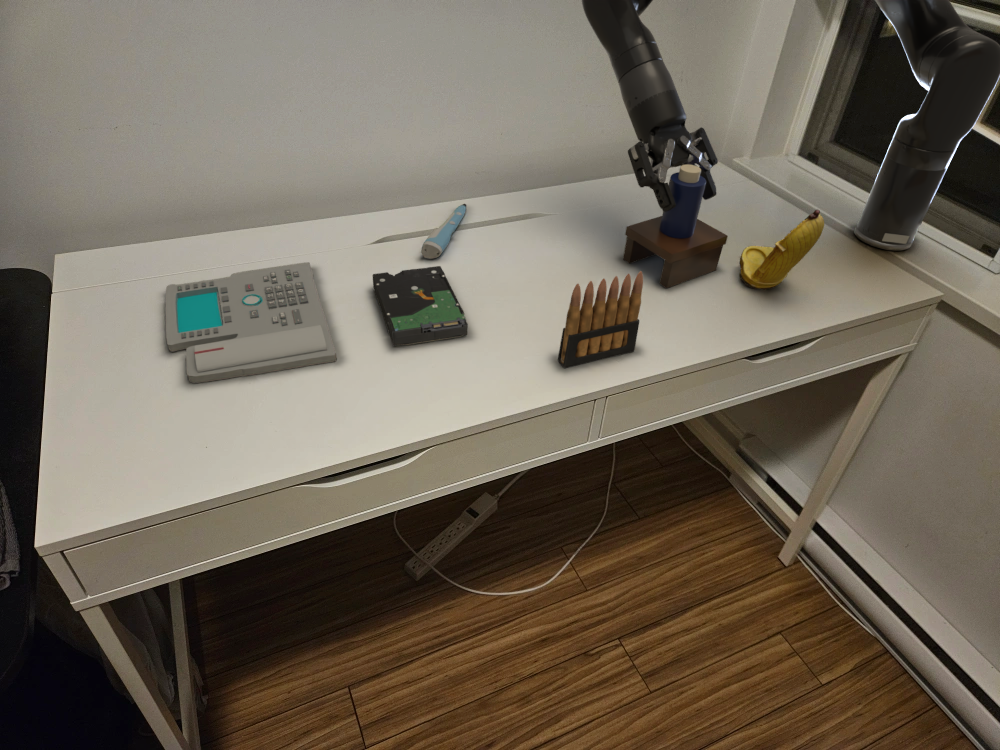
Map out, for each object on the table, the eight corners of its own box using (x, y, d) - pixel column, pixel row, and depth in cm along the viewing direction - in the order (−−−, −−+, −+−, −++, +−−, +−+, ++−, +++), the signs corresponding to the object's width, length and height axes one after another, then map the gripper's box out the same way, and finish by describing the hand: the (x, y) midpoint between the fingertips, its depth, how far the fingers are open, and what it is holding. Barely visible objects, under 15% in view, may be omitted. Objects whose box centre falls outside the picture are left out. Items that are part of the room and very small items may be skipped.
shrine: (811, 301, 104) (848, 209, 95) (766, 309, 102) (798, 215, 93) (766, 263, 113) (796, 175, 103) (723, 269, 110) (749, 180, 101)
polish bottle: (676, 220, 110) (690, 158, 103) (700, 233, 107) (716, 171, 100) (652, 227, 107) (665, 165, 101) (676, 241, 104) (691, 178, 98)
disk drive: (371, 290, 101) (393, 349, 90) (370, 273, 99) (392, 331, 89) (440, 280, 104) (469, 336, 93) (440, 264, 102) (469, 319, 92)
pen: (439, 262, 108) (439, 246, 106) (419, 259, 108) (419, 242, 107) (472, 209, 123) (473, 194, 121) (455, 206, 123) (455, 191, 121)
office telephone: (337, 345, 86) (163, 375, 80) (339, 361, 88) (169, 392, 82) (308, 253, 103) (162, 273, 97) (310, 269, 105) (167, 289, 98)
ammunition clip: (627, 343, 94) (643, 266, 86) (634, 351, 93) (651, 273, 85) (557, 360, 90) (567, 281, 83) (563, 368, 89) (574, 289, 81)
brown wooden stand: (673, 242, 117) (681, 209, 113) (718, 269, 110) (728, 235, 107) (620, 260, 111) (626, 226, 107) (664, 289, 105) (672, 254, 101)
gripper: (631, 95, 96) (672, 204, 96) (702, 81, 103) (741, 183, 103) (601, 121, 103) (640, 223, 103) (670, 107, 109) (706, 203, 109)
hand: (690, 203), depth 103 cm, fingers open, 8 cm apart
